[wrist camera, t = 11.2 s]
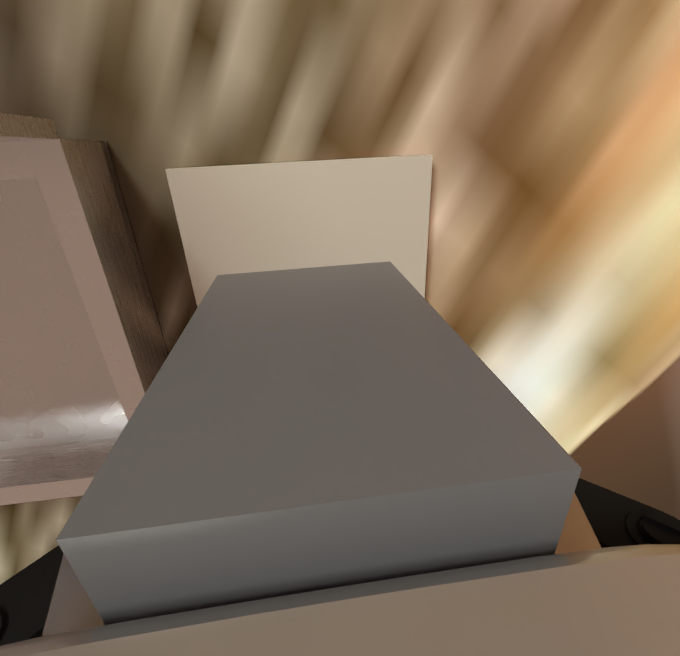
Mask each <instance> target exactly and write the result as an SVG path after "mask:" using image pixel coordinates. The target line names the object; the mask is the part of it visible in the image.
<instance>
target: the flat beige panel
mask: <svg viewBox="0 0 680 656" xmlns="http://www.w3.org/2000/svg"><path fill="white" fill-rule="evenodd" d="M432 159H433V155H411V156H392V157H374V158H355V159H337V160H318V161H300V162H281V163H263V164H244V165H226V166H207V167H189V168H170V169H165V170H166V175H167V179H168V183H169V188H170V192H171V196H172V201H173V205H174V209H175V213H176V218H177V222H178V226H179V231H180V235H181V239H182V243H183V248H184V252H185V256H186V261H187V265H188V269H189V274H190V278H191V282H192V286H193V291H194V295H195V299H196V304H197V308H198V306H199V304H200V303H201V301H202V299H203V298H204V296H205V294H206V293H207V291H208V290H209V288H210V286H211V285H212V283H213V281H214V280H215V278H216V276H217V275H225V274H237V273H250V272H263V271H275V270H288V269H300V268H313V267H325V266H338V265H350V264H363V263H376V262H388V261H390V262H391V263H392V264H393V265H394V266H395V267H396V268H397V269H398V270H399V271H400V273H401V274H402V275H403V276H404V277H405V278H406V279H407V280H408V281H409V282H410V283H411V284H412V286H413V287H414V288H415V289H416V290H417V291H418V292H419V293H420V294H421V295H422V296H423V297H424V298H425V281H426V264H427V246H428V229H429V211H430V194H431V176H432Z"/></svg>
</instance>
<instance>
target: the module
mask: <svg viewBox="0 0 680 656" xmlns="http://www.w3.org/2000/svg"><path fill="white" fill-rule="evenodd" d="M581 470H582V468H581V467H580V466H579V465H578V464H577V463H576V462H575V461H574V460H573V459H572V457H571V456H570V455H569V454H568V453H567V452H566V451H565V450H564V449H563V448H562V447H561V446H560V444H559V443H558V442H557V441H556V440H555V439H554V438H553V437H552V436H551V435H550V434H549V433H548V431H547V430H546V429H545V428H544V427H543V426H542V425H541V424H540V423H539V422H538V421H537V420H536V419H535V417H534V416H533V415H532V414H531V413H530V412H529V411H528V410H527V409H526V408H525V407H524V406H523V404H522V403H521V402H520V401H519V400H518V399H517V398H516V397H515V396H514V395H513V394H512V393H511V391H510V390H509V389H508V388H507V387H506V386H505V385H504V384H503V383H502V382H501V381H500V380H499V379H498V377H497V376H496V375H495V374H494V373H493V372H492V371H491V370H490V369H489V368H488V367H487V366H486V364H485V363H484V362H483V361H482V360H481V359H480V358H479V357H478V356H477V355H476V354H475V353H474V351H473V350H472V349H471V348H470V347H469V346H468V345H467V344H466V343H465V342H464V341H463V340H462V339H461V337H460V336H459V335H458V334H457V333H456V332H455V331H454V330H453V329H452V328H451V327H450V326H449V324H448V323H447V322H446V321H445V320H444V319H443V318H442V317H441V316H440V315H439V314H438V313H437V311H436V310H435V309H434V308H433V307H432V306H431V305H430V304H429V303H428V302H427V301H426V300H425V298H424V297H423V296H422V295H421V294H420V293H419V292H418V291H417V290H416V289H415V288H414V287H413V286H412V284H411V283H410V282H409V281H408V280H407V279H406V278H405V277H404V276H403V275H402V274H401V273H400V271H399V270H398V269H397V268H396V267H395V266H394V265H393V264H392V263H391V262H390V261H388V262H376V263H363V264H350V265H338V266H325V267H313V268H300V269H288V270H275V271H263V272H250V273H237V274H225V275H217V276H216V278H215V280H214V281H213V283H212V285H211V286H210V288H209V290H208V291H207V293H206V294H205V296H204V298H203V299H202V301H201V303H200V304H199V306H198V308H197V309H196V311H195V313H194V314H193V316H192V317H191V319H190V321H189V322H188V324H187V326H186V327H185V329H184V331H183V332H182V334H181V336H180V337H179V339H178V340H177V342H176V344H175V345H174V347H173V349H172V350H171V352H170V354H169V355H168V357H167V359H166V360H165V362H164V363H163V365H162V367H161V368H160V370H159V372H158V373H157V375H156V377H155V378H154V380H153V382H152V383H151V385H150V386H149V388H148V390H147V391H146V393H145V395H144V396H143V398H142V400H141V401H140V403H139V405H138V406H137V408H136V409H135V411H134V413H133V414H132V416H131V418H130V419H129V421H128V423H127V424H126V426H125V428H124V429H123V431H122V432H121V434H120V436H119V437H118V439H117V441H116V442H115V444H114V446H113V447H112V449H111V451H110V452H109V454H108V455H107V457H106V459H105V460H104V462H103V464H102V465H101V467H100V469H99V470H98V472H97V474H96V475H95V477H94V478H93V480H92V482H91V483H90V485H89V487H88V488H87V490H86V492H85V493H84V495H83V497H82V498H81V500H80V501H79V503H78V505H77V506H76V508H75V510H74V511H73V513H72V515H71V516H70V518H69V520H68V521H67V523H66V524H65V526H64V528H63V529H62V531H61V533H60V534H59V536H58V538H57V539H56V541H57V543H58V545H59V546H60V548H61V550H62V552H63V553H64V555H65V557H66V558H67V560H68V562H69V564H70V565H71V567H72V569H73V571H74V572H75V574H76V576H77V577H78V579H79V581H80V583H81V584H82V586H83V588H84V590H85V591H86V593H87V595H88V596H89V598H90V600H91V602H92V603H93V605H94V607H95V609H96V610H97V612H98V614H99V615H100V617H101V619H102V621H103V622H104V624H105V625H109V624H114V623H120V622H126V621H131V620H137V619H144V618H150V617H156V616H162V615H168V614H174V613H180V612H186V611H193V610H199V609H205V608H211V607H217V606H223V605H229V604H236V603H242V602H248V601H254V600H260V599H266V598H273V597H279V596H285V595H292V594H298V593H304V592H311V591H317V590H323V589H330V588H336V587H342V586H349V585H355V584H361V583H368V582H374V581H381V580H387V579H393V578H400V577H406V576H413V575H419V574H426V573H432V572H439V571H445V570H452V569H459V568H465V567H472V566H479V565H485V564H492V563H498V562H505V561H512V560H518V559H525V558H531V557H538V556H546V555H554V554H555V551H556V548H557V545H558V542H559V539H560V536H561V532H562V529H563V526H564V523H565V520H566V517H567V514H568V510H569V507H570V504H571V501H572V498H573V495H574V492H575V488H576V485H577V482H578V479H579V476H580V472H581Z"/></svg>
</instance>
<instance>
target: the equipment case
mask: <svg viewBox="0 0 680 656" xmlns="http://www.w3.org/2000/svg"><path fill="white" fill-rule="evenodd" d="M167 357H168V353H167V350H166V346H165V343H164V339H163V336H162V332H161V329H160V325H159V322H158V318H157V315H156V311H155V308H154V305H153V301H152V298H151V294H150V291H149V287H148V284H147V280H146V277H145V273H144V270H143V266H142V263H141V259H140V256H139V252H138V249H137V245H136V242H135V239H134V235H133V232H132V228H131V225H130V221H129V218H128V214H127V211H126V207H125V204H124V200H123V197H122V193H121V190H120V186H119V183H118V179H117V176H116V173H115V169H114V166H113V162H112V159H111V155H110V152H109V148H108V145H107V142H105V141H85V140H66V139H59V137H58V134H57V131H56V128H55V125H54V122H53V119H46V118H38V117H30V116H23V115H15V114H8V113H0V505H8V504H16V503H25V502H33V501H41V500H50V499H58V498H66V497H75V496H83V495H84V493H85V492H86V490H87V488H88V487H89V485H90V483H91V482H92V480H93V478H94V477H95V475H96V474H97V472H98V470H99V469H100V467H101V465H102V464H103V462H104V460H105V459H106V457H107V455H108V454H109V452H110V451H111V449H112V447H113V446H114V444H115V442H116V441H117V439H118V437H119V436H120V434H121V432H122V431H123V429H124V428H125V426H126V424H127V423H128V421H129V419H130V418H131V416H132V414H133V413H134V411H135V409H136V408H137V406H138V405H139V403H140V401H141V400H142V398H143V396H144V395H145V393H146V391H147V390H148V388H149V386H150V385H151V383H152V382H153V380H154V378H155V377H156V375H157V373H158V372H159V370H160V368H161V367H162V365H163V363H164V362H165V360H166V359H167Z"/></svg>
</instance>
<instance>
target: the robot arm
mask: <svg viewBox="0 0 680 656" xmlns="http://www.w3.org/2000/svg"><path fill="white" fill-rule="evenodd" d="M0 656H680V520H678V519H676V518H674V517H672V516H670V515H668V514H666V513H664V512H662V511H660V510H657V509H655V508H652V507H650V506H647V505H645V504H642V503H640V502H638V501H635V500H632V499H630V498H627V497H625V496H623V495H620V494H617V493H615V492H613V491H610V490H608V489H605V488H603V487H600V486H598V485H595V484H593V483H590V482H588V481H585V480H583V479H580V478H579V479H578V482H577V485H576V488H575V492H574V495H573V498H572V501H571V504H570V507H569V510H568V514H567V517H566V520H565V523H564V526H563V529H562V532H561V536H560V539H559V542H558V545H557V548H556V551H555V554H554V555H546V556H538V557H531V558H525V559H518V560H512V561H505V562H498V563H492V564H485V565H479V566H472V567H465V568H459V569H452V570H445V571H439V572H432V573H426V574H419V575H413V576H406V577H400V578H393V579H387V580H381V581H374V582H368V583H361V584H355V585H349V586H342V587H336V588H330V589H323V590H317V591H311V592H304V593H298V594H292V595H285V596H279V597H273V598H266V599H260V600H254V601H248V602H242V603H236V604H229V605H223V606H217V607H211V608H205V609H199V610H193V611H186V612H180V613H174V614H168V615H162V616H156V617H150V618H144V619H137V620H131V621H126V622H120V623H114V624H109V625H105V624H104V622H103V621H102V619H101V617H100V615H99V614H98V612H97V610H96V609H95V607H94V605H93V603H92V602H91V600H90V598H89V596H88V595H87V593H86V591H85V590H84V588H83V586H82V584H81V583H80V581H79V579H78V577H77V576H76V574H75V572H74V571H73V569H72V567H71V565H70V564H69V562H68V560H67V558H66V557H65V555H64V553H63V552H62V550H61V548H60V546H57V547H56V548H54V549H53V550H51V551H50V552H48V553H47V554H45V555H44V556H42V557H41V558H39V559H38V560H36V561H35V562H34V563H32V564H31V565H29V566H28V567H26V568H25V569H23V570H22V571H20V572H19V573H17V574H16V575H14V576H13V577H11V578H10V579H8V580H7V581H5V582H4V583H2V584H1V585H0Z"/></svg>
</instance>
